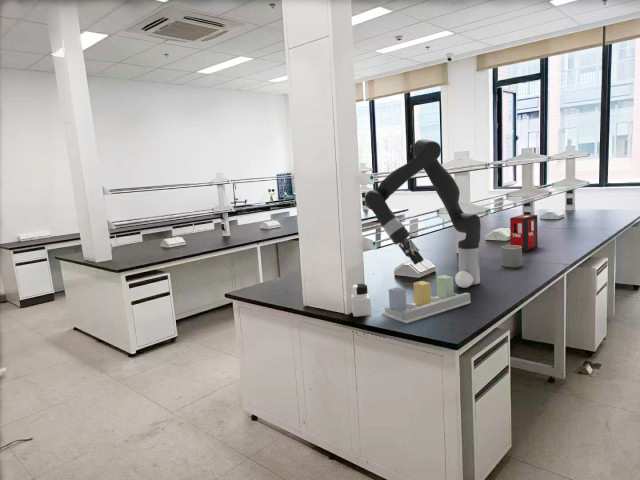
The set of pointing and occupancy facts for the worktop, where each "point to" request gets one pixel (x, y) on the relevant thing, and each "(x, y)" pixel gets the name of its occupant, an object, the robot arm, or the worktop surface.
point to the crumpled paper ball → (463, 279)
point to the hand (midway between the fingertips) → (419, 262)
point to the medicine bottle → (360, 300)
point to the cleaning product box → (524, 231)
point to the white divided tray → (428, 308)
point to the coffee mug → (511, 256)
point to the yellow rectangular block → (422, 293)
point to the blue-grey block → (397, 299)
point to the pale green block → (445, 287)
